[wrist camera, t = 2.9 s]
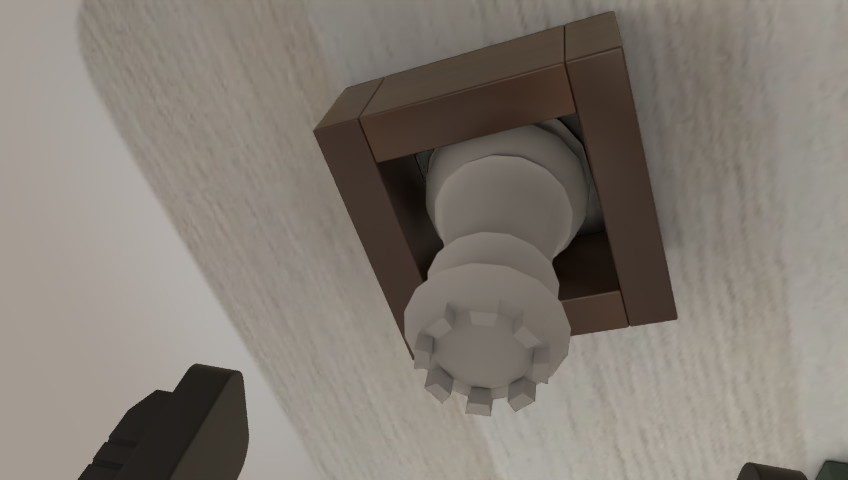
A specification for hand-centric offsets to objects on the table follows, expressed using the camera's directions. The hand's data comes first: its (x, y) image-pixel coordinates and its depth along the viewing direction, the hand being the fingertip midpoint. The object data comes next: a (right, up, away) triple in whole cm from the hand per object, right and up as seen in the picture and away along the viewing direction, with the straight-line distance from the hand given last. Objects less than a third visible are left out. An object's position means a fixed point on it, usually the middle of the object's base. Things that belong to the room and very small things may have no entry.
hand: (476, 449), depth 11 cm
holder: (+2, +5, +8) cm, 10 cm away
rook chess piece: (+2, +5, +8) cm, 10 cm away
